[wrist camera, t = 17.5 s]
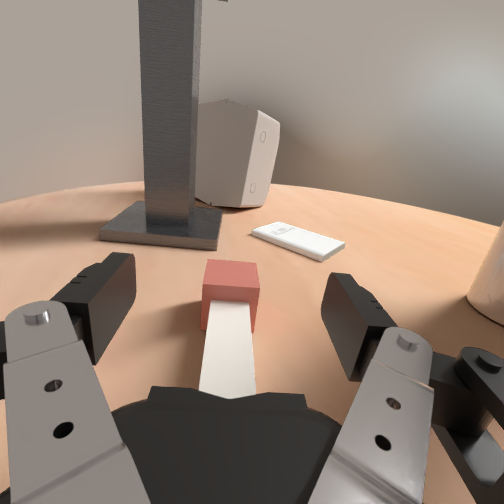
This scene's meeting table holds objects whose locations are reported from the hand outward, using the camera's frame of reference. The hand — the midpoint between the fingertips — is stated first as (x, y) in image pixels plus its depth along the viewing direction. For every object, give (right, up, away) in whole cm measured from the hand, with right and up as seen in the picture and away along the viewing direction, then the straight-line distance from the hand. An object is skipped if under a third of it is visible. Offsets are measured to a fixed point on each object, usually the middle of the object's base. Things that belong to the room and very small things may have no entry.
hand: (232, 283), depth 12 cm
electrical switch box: (-3, +13, +53) cm, 55 cm away
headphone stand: (-12, +5, +33) cm, 35 cm away
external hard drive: (+8, +2, +34) cm, 35 cm away
